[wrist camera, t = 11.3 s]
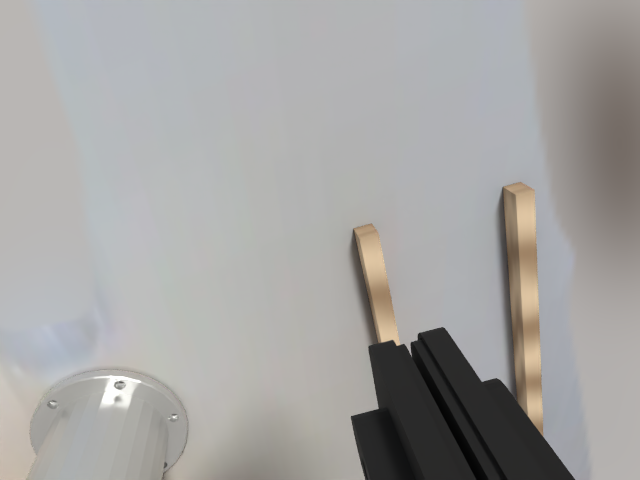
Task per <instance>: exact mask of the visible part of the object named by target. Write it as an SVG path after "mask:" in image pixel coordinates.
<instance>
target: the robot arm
mask: <svg viewBox="0 0 640 480" xmlns="http://www.w3.org/2000/svg"><path fill="white" fill-rule="evenodd" d="M411 353H412V357H411V355H410V353H409V351H408V349H407V347H406V346H405V344H402V345H398V346H397V345H396V343H395V342H394V340H390V341H386V342H382V343H378V344H374V345H370V346H369V355H370V361H371V366H372V372H373V378H374V384H375V389H376V395H377V401H378V407H379V409H377V410H373V411H369V412H365V413H362V414H358V415H354V416H351V420H352V425H353V430H354V435H355V440H356V444H357V449H358V453H359V457H360V461H361V465H362V469H363V473H364V476H365V480H575V479H574V478H573V476H572V475H571V474H570V472H569V471H568V470H567V468H566V467H565V466H564V464H563V463H562V461H561V460H560V459H559V457H558V456H557V455H556V453H555V452H554V451H553V449H552V448H551V447H550V445H549V444H548V443H547V441H546V440H545V439H544V437H543V436H542V435H541V433H540V432H539V430H538V429H537V428H536V426H535V425H534V424H533V422H532V421H531V420H530V418H529V417H528V416H527V414H526V413H525V412H524V410H523V409H522V408H521V406H520V405H519V404H518V402H517V401H516V400H515V398H514V397H513V395H512V394H511V393H510V391H509V390H508V389H507V387H506V386H505V385H504V384H503V383H502V382H501V381H500V380H499V379H497V378H496V379H492V380H488V381H484V382H481V380H480V379H479V377H478V376H477V374H476V373H475V371H474V370H473V368H472V367H471V365H470V364H469V363H468V361H467V360H466V358H465V357H464V355H463V354H462V352H461V351H460V349H459V348H458V347H457V345H456V344H455V342H454V341H453V339H452V338H451V336H450V335H449V333H448V332H447V331H446V329H445V328H443V327H441V328H437V329H433V330H429V331H426V332H422V333H419V334H418V341H414V342H411ZM187 432H188V420H187V416H186V412H185V409H184V408H183V406H182V404H181V402H180V400H179V399H178V398H177V397H176V396H175V395H174V393H173V392H172V391H171V390H169V389H168V388H167V387H165V386H164V385H163V384H161V383H159V382H158V381H156V380H154V379H152V378H150V377H147V376H144V375H141V374H138V373H135V372H129V371H123V370H98V371H90V372H86V373H82V374H79V375H75V376H73V377H71V378H69V379H67V380H64V381H62V382H61V383H59V384H58V385H56V386H55V387H54V388H52V389H51V390H50V391H49V392H48V393H47V394H46V395H45V396H44V397H43V398H42V400H41V402H40V403H39V405H38V407H37V409H36V410H35V412H34V415H33V418H32V420H31V424H30V439H31V445H32V447H33V449H34V451H35V453H36V455H37V456H36V458H35V461H34V463H33V465H32V467H31V469H30V471H29V474H28V476H27V478H26V480H162V475H163V473H164V472H165V471H167V470H168V469H169V468H170V467H171V466H172V465H173V464H174V463H175V462H176V461H177V459H178V458H179V457H180V455H181V454H182V452H183V449H184V447H185V444H186V439H187Z"/></svg>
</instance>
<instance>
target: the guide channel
mask: <svg viewBox="0 0 640 480" xmlns="http://www.w3.org/2000/svg"><path fill="white" fill-rule="evenodd" d="M503 195H504V210H505V225H506V241H507V256H508V271H509V286H510V301H511V316H512V332H513V347H514V362H515V377H516V392H517V402H518V404H519V405H520V406H521V408H522V409H523V410H524V412H525V413H526V414H527V416H528V417H529V418H530V420H531V421H532V422H533V424H534V425H535V426H536V428H537V429H538V430H539V432H540V433H541V435H542V436H543V414H542V387H541V359H540V331H539V303H538V276H537V248H536V220H535V192H534V189H532V188H530V187H529V186H527V185H525V184H523V183H521V182H519V183H516V184H512V185H508V186H505V187H503ZM354 233H355V237H356V242H357V247H358V251H359V256H360V260H361V265H362V270H363V274H364V279H365V283H366V288H367V293H368V297H369V302H370V306H371V311H372V316H373V320H374V325H375V329H376V334H377V339H378V343H382V342H386V341H390V340H394V342H395V343H396V345H397V346H398V345H400V342H399V337H398V332H397V327H396V321H395V316H394V311H393V306H392V301H391V296H390V290H389V285H388V280H387V275H386V270H385V265H384V259H383V254H382V249H381V244H380V239H379V234H378V232H377V230H376V229H375V228H374V226H373V225H372V224H368V225H365V226H361V227H358V228H354Z"/></svg>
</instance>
